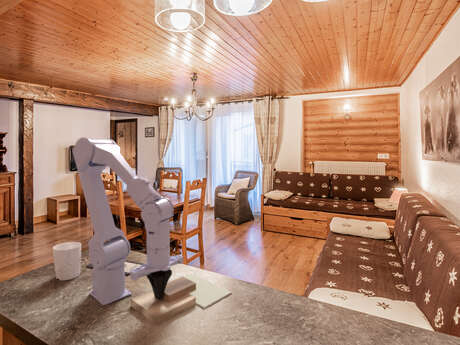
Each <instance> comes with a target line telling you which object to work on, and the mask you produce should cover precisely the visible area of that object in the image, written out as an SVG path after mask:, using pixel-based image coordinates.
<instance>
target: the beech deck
mask: <svg viewBox="0 0 460 345" xmlns="http://www.w3.org/2000/svg"><path fill="white" fill-rule="evenodd" d="M196 305H197V304H196V297H194V296H192V295H190V294H187V295H185V296H183V297H181V298H179V299H176V300H174V301H172V302H170V303H168V302H167V301H165V300H163V299H160V300H158V299H157V298H155V296H154V292H153V289H151V290H149V291H146V292H144V293H140V294H139V295H136V296H134V297H131V298H130V307H132V308H133V309H135V311H137V313H140V314H141V315H142V316H144V317H145V318H146V319H148V320H149V321H150V322H151V323H153V324H154V325H155V326H159V325H161V324H162V323H165V322H166V321H168V320H170V319H172V318H173V317H176V316H177V315H179V314H182V313H183V312H185V311H187V310H189V309H190V308H193V307H194V306H196Z"/></svg>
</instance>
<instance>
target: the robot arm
mask: <svg viewBox="0 0 460 345" xmlns="http://www.w3.org/2000/svg"><path fill="white" fill-rule="evenodd" d="M71 152H72V156H73V158H74V161H75V166H76V168H77V174H78V177H79V180H80V184H81V189H82V192H83V196H84V198H85V203H86V206H87V210H88V214H89V218H90V222H91V225H92V229H93V231H94V232H93V233H94V234H93V236H92V237H91V239H90V240H89V241H88V243H87V246H88V250H89V251H88V259H89V262H90V264H92V265H93V266H94V267H93V269H92V271H91V276H92V278H91V280H92V290H90V291H88V293H89V295H90V296H92V297H93V298H94V299H95V300H96V301H98V302H99V303H100V304H101V305H102V306H106V305H108V304H111V303H114V302H116V301H118V300H121V299H123V298H126V297H128V296H131V295H132V292H131V291H129V289H127V288H126V275H125V261H126V260H127V257H128V256H129V255H130V253H131V244H130V241H129V240H128V239H127V237H126V235H125V232H124V231H123V230H122V229H120V228H118V227H116V225H115V222H114V217H113V214H112V210H111V206H110V203H109V200H108V195H107V193H106V189H105V184H104V181H103V178H102V174H103V171H104V170H106V169H107V167H109V168H110V170H112V172H113V173H114V174H115V175H116V176H118V178H119V180H121V181H122V182H123V183H124V184H125V185H126V187H125V192H126V193H127V194H128V196H129V197H130V198H131V200H132V201H133V202H134V203H135V204H136V205H137V207H138V208H139V209H140V210H141V212H140V216H141V219H142V221H143V223H144V229H145V232H146V262H145V263H144V264H143V265H141V266H140V267H138V268H136V269H134V270H131V271H130V275H129V277H130V279H131V280H132V281H138V280H139V279H140V278H143V277H146V278H147V280H148V281H149V283H150V287H151V288H152V289H151V290H153V292H154V296H155V298H157V299H158V300H160V299H162V298H163V296H164V292H165V288H166V285H167V283H168V282H169V280H170V278H171V277H172V275H173V271H172V269H171V267H173V266H175V265H176V266H177V265H182V264H184V256H183V255H181V254H177V255H170V254H171V251H170V250H171V247H170V246H171V245H170V244H171V239H170V233H171V232H170V230H171V229H170V219H171V218H172V217H173V215H174V212H175V207H174V204H173V203H172V201H171V199H169V198H168V197H163V196H162V195H161V194H160V193H158V192H157V190H155V188H154V187H153V186H152V184H150V183H151V182H150V180H149V179H148V178H145V177H141V176H138V175H137V174H136V173H135V171H134V170H133V168H132V167H131V166H130V164H129V163H128V161H127V160H126V159H125V157H123V155H122V154H121V146H119V145H117V143H116V141H114V140H113V139H111V138H106V139H104V138H88V137H80V138H78V139H77V141H76V142H75V144H74V146H73V148H72V151H71Z"/></svg>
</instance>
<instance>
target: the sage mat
mask: <svg viewBox="0 0 460 345" xmlns="http://www.w3.org/2000/svg"><path fill="white" fill-rule="evenodd" d="M182 277H185V278H187V279H189V280H191V281H193V282H195V283H196V290H195V291H193V292H191V293H189V294H190V295H192V296H194V297H196V305H197V306H198V307H199V308H202V309H206V308H208V307H210V306H212V305H214V304H215V303H217V302H219V301H220V300H221V301H222V300H223V299H225V298H226V297H228V296H230V295H232V291H230V290H228V289H226V288H223V287H222V286H219V285H217V284H215V283H213V282H211V281H208V280H207V279H204V278H202V277H201V276H198V275H196V274H193V273H191V272H190V273H188V274H185V275H183V276H182Z"/></svg>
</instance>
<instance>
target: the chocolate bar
mask: <svg viewBox="0 0 460 345" xmlns="http://www.w3.org/2000/svg"><path fill="white" fill-rule="evenodd" d="M143 264H145V263H144V262H138V261H130V260H127V259H126V261H125V277H126V276H127V277H128V276H129V277H130V271H131V270H134V269H136V268H138V267H140V266H141V265H143ZM87 267H88V268H87ZM93 267H94V266H93V265H92V264H91V263H89V264H87V265H86V266H85V268H87V269H92V268H93Z"/></svg>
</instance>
